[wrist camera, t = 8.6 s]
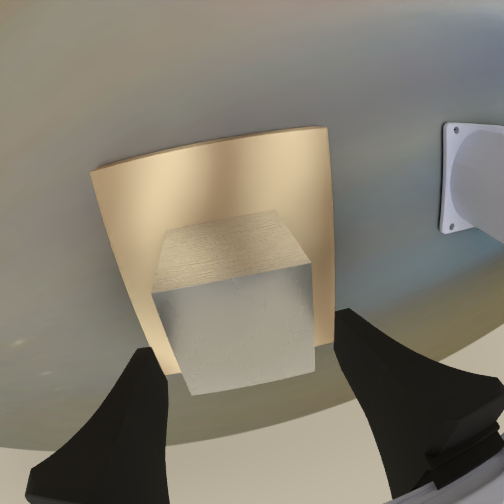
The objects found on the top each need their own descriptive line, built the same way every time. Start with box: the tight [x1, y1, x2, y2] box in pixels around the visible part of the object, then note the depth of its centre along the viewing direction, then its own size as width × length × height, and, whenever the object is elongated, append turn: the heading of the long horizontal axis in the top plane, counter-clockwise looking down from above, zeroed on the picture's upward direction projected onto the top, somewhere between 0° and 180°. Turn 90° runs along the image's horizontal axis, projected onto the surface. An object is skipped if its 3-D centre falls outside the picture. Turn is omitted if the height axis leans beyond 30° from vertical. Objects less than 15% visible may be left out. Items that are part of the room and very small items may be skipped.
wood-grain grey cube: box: [151, 209, 315, 395], centre depth 15 cm, size 6×6×6 cm
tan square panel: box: [90, 126, 335, 375], centre depth 16 cm, size 12×14×6 cm
